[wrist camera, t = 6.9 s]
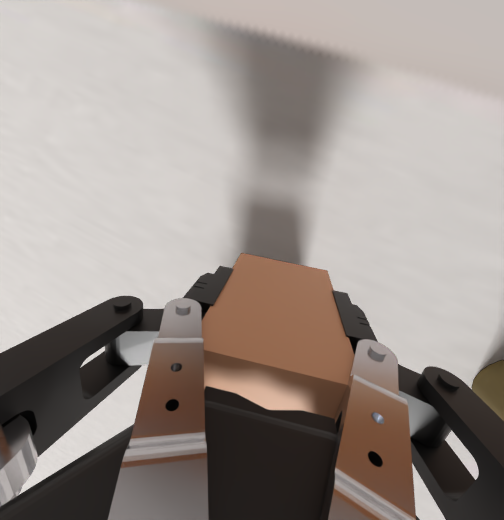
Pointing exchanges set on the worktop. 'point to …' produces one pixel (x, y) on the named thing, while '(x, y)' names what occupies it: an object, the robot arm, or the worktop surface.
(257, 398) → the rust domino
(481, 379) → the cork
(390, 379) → the robot arm
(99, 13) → the worktop surface
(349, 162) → the worktop surface
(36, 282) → the worktop surface
